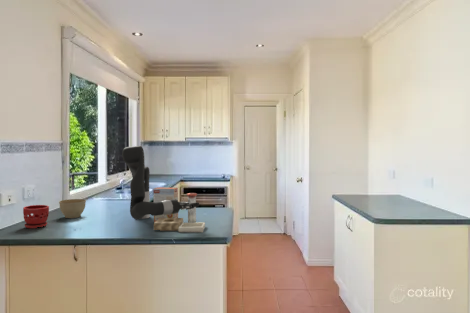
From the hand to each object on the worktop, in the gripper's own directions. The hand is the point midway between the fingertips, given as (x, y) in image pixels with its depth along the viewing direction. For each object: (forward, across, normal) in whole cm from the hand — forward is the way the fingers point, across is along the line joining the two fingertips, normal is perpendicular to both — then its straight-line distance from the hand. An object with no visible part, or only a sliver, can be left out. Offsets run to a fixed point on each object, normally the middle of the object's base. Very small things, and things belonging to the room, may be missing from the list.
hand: (196, 203), depth 197 cm
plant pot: (-68, +65, +14) cm, 95 cm away
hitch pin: (-3, 0, +10) cm, 10 cm away
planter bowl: (-44, +82, +14) cm, 94 cm away
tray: (-3, 0, +14) cm, 14 cm away
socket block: (-10, +13, +14) cm, 22 cm away
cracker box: (-4, +28, +14) cm, 32 cm away
